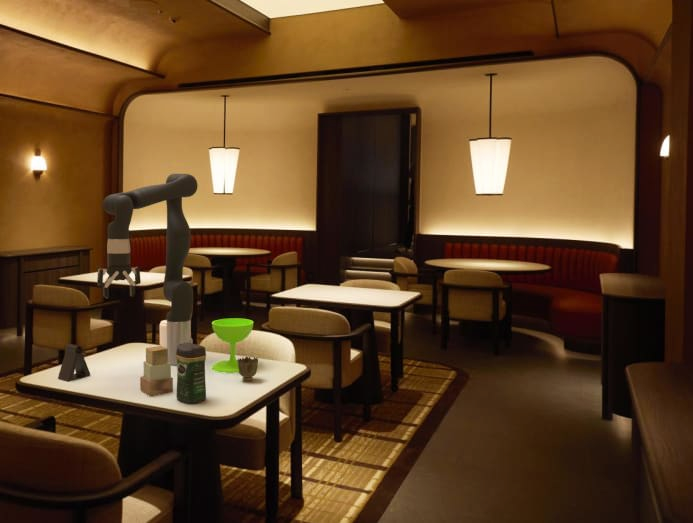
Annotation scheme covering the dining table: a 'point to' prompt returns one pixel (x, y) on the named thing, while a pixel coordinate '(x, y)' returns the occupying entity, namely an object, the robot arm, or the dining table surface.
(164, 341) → the beverage can
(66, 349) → the dark grey a-frame stand
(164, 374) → the sage top block
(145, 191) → the robot arm
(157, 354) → the tan wooden cube
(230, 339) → the wineglass
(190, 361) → the coffee jar
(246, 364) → the cup
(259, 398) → the dining table surface
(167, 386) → the walnut base block
